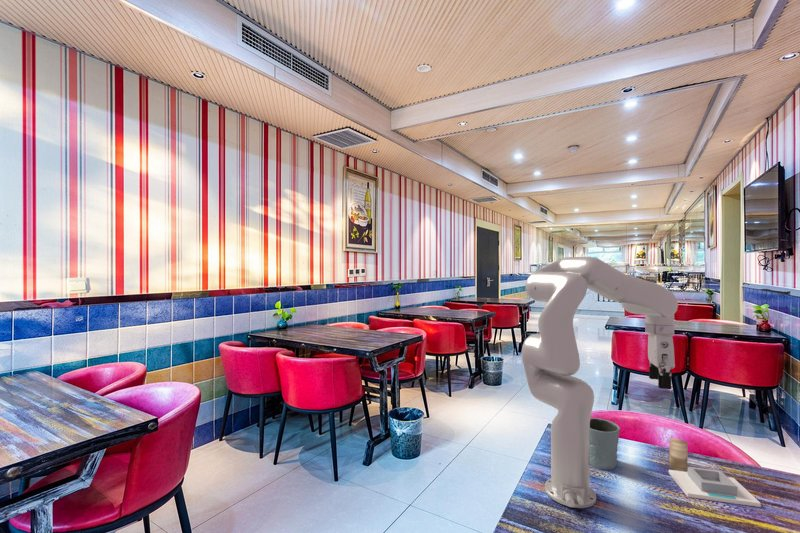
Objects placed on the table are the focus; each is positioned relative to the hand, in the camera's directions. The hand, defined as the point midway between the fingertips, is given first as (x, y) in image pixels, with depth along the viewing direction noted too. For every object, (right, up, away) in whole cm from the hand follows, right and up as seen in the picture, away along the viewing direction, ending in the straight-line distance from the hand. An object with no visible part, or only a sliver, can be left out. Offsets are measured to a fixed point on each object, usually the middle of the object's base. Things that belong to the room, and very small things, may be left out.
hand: (659, 383), depth 118 cm
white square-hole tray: (+4, -25, -14) cm, 29 cm away
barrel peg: (+3, -25, -4) cm, 25 cm away
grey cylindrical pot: (-19, -25, -1) cm, 31 cm away
